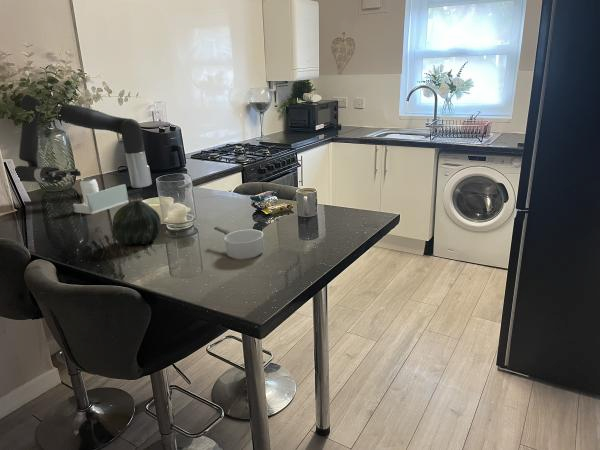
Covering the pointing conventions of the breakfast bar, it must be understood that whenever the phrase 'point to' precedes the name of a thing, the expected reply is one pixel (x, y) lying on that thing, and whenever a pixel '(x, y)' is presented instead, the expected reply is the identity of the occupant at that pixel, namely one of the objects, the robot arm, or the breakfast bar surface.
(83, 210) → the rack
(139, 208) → the squash
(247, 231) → the saucepan
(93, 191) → the can
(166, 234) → the breakfast bar surface
